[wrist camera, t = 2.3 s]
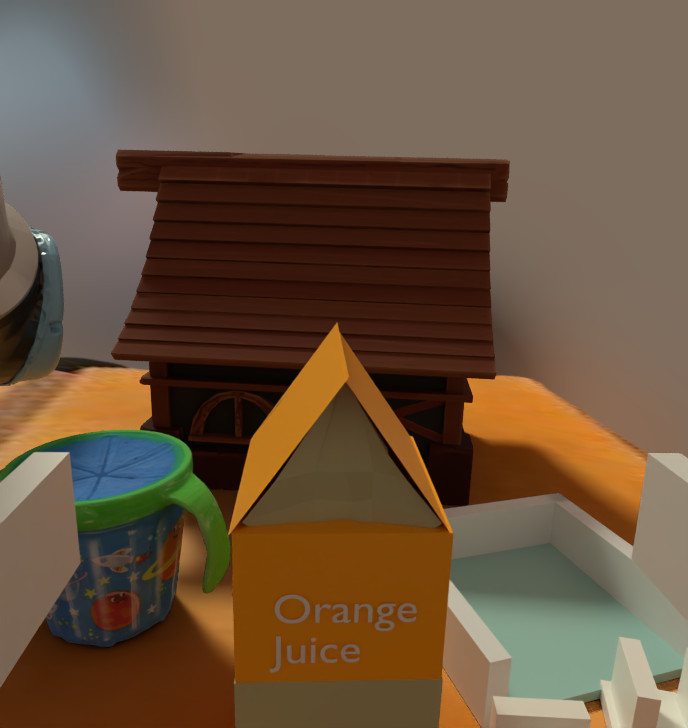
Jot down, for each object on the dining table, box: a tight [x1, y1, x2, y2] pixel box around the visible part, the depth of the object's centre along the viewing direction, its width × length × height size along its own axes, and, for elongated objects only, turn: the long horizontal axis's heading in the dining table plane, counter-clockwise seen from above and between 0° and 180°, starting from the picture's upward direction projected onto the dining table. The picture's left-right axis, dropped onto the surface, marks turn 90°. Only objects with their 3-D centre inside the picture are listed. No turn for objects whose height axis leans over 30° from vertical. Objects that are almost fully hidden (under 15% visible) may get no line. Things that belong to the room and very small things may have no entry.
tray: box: [442, 493, 688, 728], centre depth 39 cm, size 14×14×4 cm
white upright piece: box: [600, 637, 688, 728], centre depth 30 cm, size 5×5×4 cm
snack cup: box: [0, 430, 231, 647], centre depth 37 cm, size 16×10×10 cm
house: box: [111, 150, 510, 506], centre depth 59 cm, size 35×28×29 cm
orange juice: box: [228, 323, 454, 728], centre depth 26 cm, size 8×9×20 cm
